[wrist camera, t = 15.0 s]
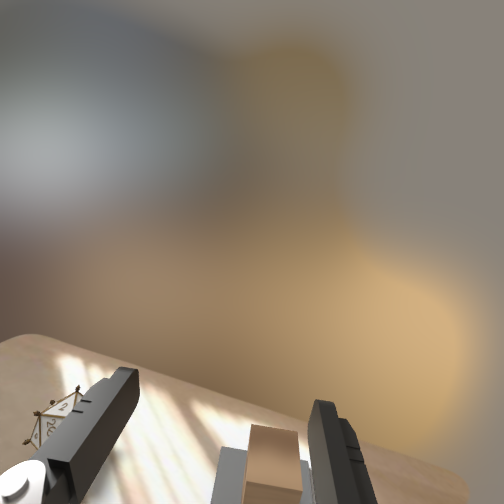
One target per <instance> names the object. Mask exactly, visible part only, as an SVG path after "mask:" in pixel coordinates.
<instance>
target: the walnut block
mask: <svg viewBox="0 0 504 504" xmlns="http://www.w3.org/2000/svg"><path fill="white" fill-rule="evenodd" d="M302 492H303V487H302V476H301V465H300V454H299V443H298V433H297V432H296V431H290V430H284V429H278V428H272V427H265V426H259V425H253V424H251V431H250V438H249V444H248V451H247V458H246V465H245V472H244V479H243V487H242V497H241V504H299V503H300V500H301V496H302Z"/></svg>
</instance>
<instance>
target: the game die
mask: <svg viewBox="0 0 504 504" xmlns="http://www.w3.org/2000/svg"><path fill="white" fill-rule="evenodd" d="M75 390H76V391H75V392H74V393H72V394H70V395H68V396H67V397H65V398H63V399H61V400H59V401H57V402H56V403H55V401H54V400H51V401H50V404H51V406H50V407H48V408H47V409H46V410H44V411H43V412H41V413H40V412H38V411H36V412H33V413H34V416H38V419H37V422H36V425H35V428H34V430H33V433H32V436H31V439H27V440H25V441H24V442H23V444H24V445H26V444H28V443H29V442H31V443H32V444H33V446H34V447H35V448H36V449H37V450H38V449H39V448H40V447H41V445H42V444H43V443H44V442H45V441H46V440H47V438H48V437H49V436H50V435H51V434H52V432H53V431H54V430H55V429H56V428H57V427H58V425H59V424H60V423H61V422H62V421H63V419H64V418H65V417H66V416H67V415H68V414H69V412H71V411H72V409H73V408H74V406H75V405H76V404H77V403H78V402H80V400H81V398H82V397H83V395H82V394H81V393H79V392H78V391H79V390H80V386H79V385H78V386H77V387H76V389H75Z"/></svg>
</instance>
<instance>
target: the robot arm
mask: <svg viewBox="0 0 504 504" xmlns="http://www.w3.org/2000/svg"><path fill="white" fill-rule="evenodd" d="M139 396H140V387H139V372H138V369H133V368H127V367H119V368H118V369H117V370H116V371H115V372H114V374H113V375H112V376H111V378H110V379H108V378H103V379H102V380H100V381H99V382H97V383H96V384H95V385H93V386H92V387H91V388H90V389H89V390H88V391H87V392H86V393H85V395H84V396H83V397H82V398H81V400H80V402H78V403H77V404H76V405H75V406H74V408H73V409H72V411H71V412H69V414H68V415H67V416H66V417H65V418H64V419H63V421H62V422H61V423H60V424H59V425H58V427H57V428H56V429H55V430H54V431H53V432H52V434H51V435H50V436H49V437H48V438H47V440H46V441H45V442H44V443H43V444H42V445H41V447H40V448H39V449H38V450H37V451H36V453H35V454H34V455H33V456H32V457H31V458H30V459H29V460H28V461H25V462H23V463H20V464H18V465H16V466H14V467H12V468H11V469H9V470H8V471H6V472H5V473H4V474H3V475H1V476H0V504H80V503H81V501H82V499H83V498H84V496H85V494H86V493H87V491H88V489H89V487H90V486H91V484H92V482H93V481H94V479H95V477H96V475H97V474H98V472H99V470H100V468H101V467H102V465H103V463H104V462H105V460H106V458H107V456H108V455H109V453H110V451H111V450H112V448H113V446H114V444H115V443H116V441H117V439H118V438H119V436H120V434H121V432H122V431H123V429H124V427H125V426H126V424H127V422H128V420H129V419H130V417H131V415H132V413H133V412H134V410H135V408H136V406H137V403H138V400H139ZM308 444H309V452H310V459H311V467H312V475H313V483H314V490H315V498H316V504H378V503H377V500H376V497H375V494H374V490H373V487H372V484H371V481H370V478H369V475H368V471H367V468H366V465H365V464H364V459H363V455H362V452H361V451H360V446H359V443H358V439H357V436H356V433H355V431H354V430H353V429H352V427H351V425H350V424H349V422H348V421H347V420H346V419H343V418H338V415H337V411H336V407H335V404H334V403H333V402H330V401H323V400H317V399H316V400H315V401H314V405H313V409H312V412H311V415H310V419H309V423H308Z"/></svg>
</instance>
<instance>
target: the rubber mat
mask: <svg viewBox="0 0 504 504" xmlns="http://www.w3.org/2000/svg"><path fill="white" fill-rule="evenodd" d="M246 458H247V451H246V450H240V449H234V448H229V447H223V446H222V447H221V452H220V457H219V463H218V468H217V473H216V478H215V483H214V488H213V494H212V499H211V504H241V497H242V487H243V479H244V472H245V465H246ZM300 465H301V476H302V487H303V492H302V496H301V500H300V503H299V504H313V498H312V490H311V482H310V473H309V465H308V461H304V460H300Z"/></svg>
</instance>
